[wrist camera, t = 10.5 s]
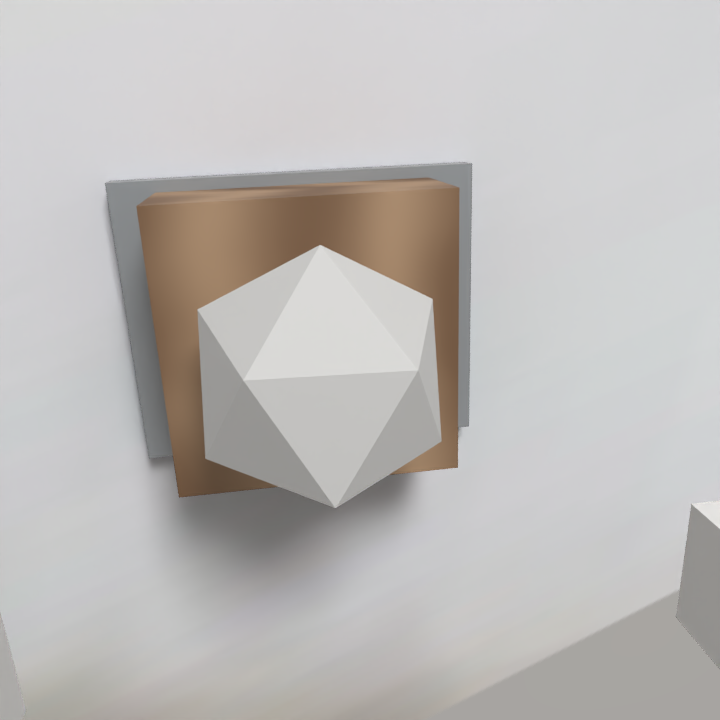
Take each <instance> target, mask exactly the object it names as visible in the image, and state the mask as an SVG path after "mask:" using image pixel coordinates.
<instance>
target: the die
mask: <svg viewBox="0 0 720 720" xmlns="http://www.w3.org/2000/svg"><path fill="white" fill-rule="evenodd" d="M197 311H198V330H199V349H200V367H201V386H202V405H203V423H204V442H205V459H207V460H210V461H213V462H215V463H218V464H221V465H223V466H226V467H228V468H231V469H234V470H236V471H239V472H242V473H244V474H247V475H249V476H252V477H255V478H257V479H260V480H263V481H265V482H268V483H270V484H273V485H276V486H278V487H281V488H283V489H286V490H289V491H291V492H294V493H297V494H299V495H302V496H304V497H307V498H310V499H312V500H315V501H318V502H320V503H323V504H325V505H328V506H331V507H333V508H337V507H339V506H340V505H342V504H343V503H345V502H347V501H348V500H350V499H351V498H353V497H354V496H356V495H358V494H359V493H361V492H362V491H364V490H366V489H367V488H369V487H370V486H372V485H373V484H375V483H377V482H378V481H380V480H381V479H383V478H385V477H386V476H388V475H389V474H391V473H392V472H394V471H396V470H397V469H399V468H400V467H402V466H404V465H405V464H407V463H408V462H410V461H411V460H413V459H415V458H416V457H418V456H419V455H421V454H422V453H424V452H426V451H427V450H429V449H430V448H432V447H434V446H435V445H437V444H438V443H440V442H441V425H440V409H439V393H438V377H437V361H436V345H435V329H434V313H433V299H432V298H430V297H428V296H426V295H423V294H421V293H419V292H417V291H415V290H413V289H411V288H409V287H407V286H405V285H403V284H401V283H398V282H396V281H394V280H392V279H390V278H388V277H386V276H384V275H382V274H380V273H378V272H376V271H374V270H371V269H369V268H367V267H365V266H363V265H361V264H359V263H357V262H355V261H353V260H351V259H349V258H346V257H344V256H342V255H340V254H338V253H336V252H334V251H332V250H330V249H328V248H326V247H324V246H321V245H319V246H317V247H315V248H313V249H311V250H309V251H308V252H306V253H304V254H302V255H300V256H298V257H296V258H294V259H292V260H290V261H289V262H287V263H285V264H283V265H281V266H279V267H277V268H275V269H273V270H272V271H270V272H268V273H266V274H264V275H262V276H260V277H258V278H256V279H254V280H253V281H251V282H249V283H247V284H245V285H243V286H241V287H239V288H237V289H235V290H234V291H232V292H230V293H228V294H226V295H224V296H222V297H220V298H218V299H216V300H215V301H213V302H211V303H209V304H207V305H205V306H203V307H201V308H199V309H198V310H197Z"/></svg>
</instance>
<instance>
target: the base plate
mask: <svg viewBox="0 0 720 720" xmlns="http://www.w3.org/2000/svg"><path fill="white" fill-rule="evenodd" d="M428 177H429V178H432V179H435V180H438V181H441V182H444V183H447V184H450V185H453V186H456V187H459V188H460V192H459V348H458V427H466V426H469V377H470V296H471V214H472V163H467V162H457V163H438V164H419V165H401V166H382V167H363V168H344V169H325V170H306V171H288V172H269V173H250V174H231V175H212V176H193V177H174V178H156V179H137V180H118V181H109V182H107V183H105V186H106V192H107V199H108V205H109V211H110V217H111V224H112V230H113V236H114V242H115V249H116V255H117V261H118V267H119V274H120V280H121V286H122V292H123V298H124V305H125V311H126V317H127V323H128V330H129V336H130V342H131V348H132V355H133V361H134V367H135V373H136V380H137V386H138V392H139V398H140V405H141V411H142V417H143V423H144V429H145V436H146V442H147V448H148V454H149V458H157V457H167V456H173V453H172V446H171V439H170V432H169V426H168V419H167V412H166V405H165V398H164V392H163V385H162V378H161V371H160V364H159V358H158V351H157V344H156V337H155V330H154V324H153V317H152V310H151V303H150V296H149V290H148V283H147V276H146V269H145V263H144V256H143V249H142V242H141V235H140V229H139V222H138V215H137V208H136V206H137V205H138V204H140V203H141V202H143V201H144V200H145V199H147V198H148V197H150V196H151V195H153V194H154V193H157V192H175V191H193V190H211V189H229V188H247V187H265V186H283V185H301V184H320V183H338V182H356V181H374V180H392V179H410V178H428Z"/></svg>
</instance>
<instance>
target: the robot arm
mask: <svg viewBox="0 0 720 720" xmlns="http://www.w3.org/2000/svg"><path fill="white" fill-rule="evenodd" d="M676 618H677V619H678V620H679V622H680V623H681V624H682V625H683V626H684V628H685V629H686V630H687V631H688V632H689V634H690V635H691V636H692V637H693V638H694V639H695V641H696V642H697V643H698V644H699V645H700V646H701V648H702V649H703V650H704V651H705V652H706V654H707V655H708V656H709V657H710V658H711V660H712V661H713V662H714V663H715V664H716V665H717V666H718V668H719V669H720V501H712V502H704V503H696V504H691V511H690V518H689V526H688V533H687V540H686V548H685V555H684V562H683V570H682V577H681V584H680V592H679V599H678V606H677V614H676ZM25 712H26V708H25V704H24V700H23V697H22V693H21V689H20V685H19V681H18V678H17V674H16V670H15V666H14V662H13V659H12V655H11V651H10V647H9V643H8V640H7V636H6V632H5V628H4V624H3V621H2V617H1V613H0V720H22V719H23V717H24V714H25Z"/></svg>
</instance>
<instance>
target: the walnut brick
mask: <svg viewBox="0 0 720 720" xmlns="http://www.w3.org/2000/svg"><path fill="white" fill-rule="evenodd" d="M459 192H460V188H459V187H456V186H453V185H450V184H447V183H444V182H441V181H438V180H435V179H432V178H429V177H428V178H410V179H392V180H374V181H356V182H338V183H320V184H301V185H283V186H265V187H247V188H229V189H211V190H193V191H175V192H157V193H154V194H153V195H151V196H150V197H148V198H147V199H145V200H144V201H143V202H141V203H140V204H138V205H137V206H136V208H137V215H138V222H139V229H140V235H141V242H142V249H143V256H144V263H145V269H146V276H147V283H148V290H149V296H150V303H151V310H152V317H153V324H154V330H155V337H156V344H157V351H158V358H159V364H160V371H161V378H162V385H163V392H164V398H165V405H166V412H167V419H168V426H169V432H170V439H171V446H172V453H173V459H174V466H175V473H176V480H177V487H178V493H179V497H188V496H197V495H206V494H216V493H225V492H234V491H243V490H253V489H262V488H271V487H278V486H276V485H273V484H270V483H268V482H265V481H263V480H260V479H257V478H255V477H252V476H249V475H247V474H244V473H242V472H239V471H236V470H234V469H231V468H228V467H226V466H223V465H221V464H218V463H215V462H213V461H210V460H207V459H205V442H204V423H203V405H202V386H201V367H200V349H199V330H198V311H197V310H198V309H199V308H201V307H203V306H205V305H207V304H209V303H211V302H213V301H215V300H216V299H218V298H220V297H222V296H224V295H226V294H228V293H230V292H232V291H234V290H235V289H237V288H239V287H241V286H243V285H245V284H247V283H249V282H251V281H253V280H254V279H256V278H258V277H260V276H262V275H264V274H266V273H268V272H270V271H272V270H273V269H275V268H277V267H279V266H281V265H283V264H285V263H287V262H289V261H290V260H292V259H294V258H296V257H298V256H300V255H302V254H304V253H306V252H308V251H309V250H311V249H313V248H315V247H317V246H319V245H321V246H324V247H326V248H328V249H330V250H332V251H334V252H336V253H338V254H340V255H342V256H344V257H346V258H349V259H351V260H353V261H355V262H357V263H359V264H361V265H363V266H365V267H367V268H369V269H371V270H374V271H376V272H378V273H380V274H382V275H384V276H386V277H388V278H390V279H392V280H394V281H396V282H398V283H401V284H403V285H405V286H407V287H409V288H411V289H413V290H415V291H417V292H419V293H421V294H423V295H426V296H428V297H430V298H432V299H433V313H434V329H435V345H436V361H437V377H438V393H439V409H440V425H441V442H440V443H438V444H437V445H435V446H434V447H432V448H430V449H429V450H427V451H426V452H424V453H422V454H421V455H419V456H418V457H416V458H415V459H413V460H411V461H410V462H408V463H407V464H405V465H404V466H402V467H400V468H399V469H397V470H396V471H394V472H392V473H391V474H389V475H392V474H402V473H411V472H420V471H430V470H439V469H448V468H458V348H459Z"/></svg>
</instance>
